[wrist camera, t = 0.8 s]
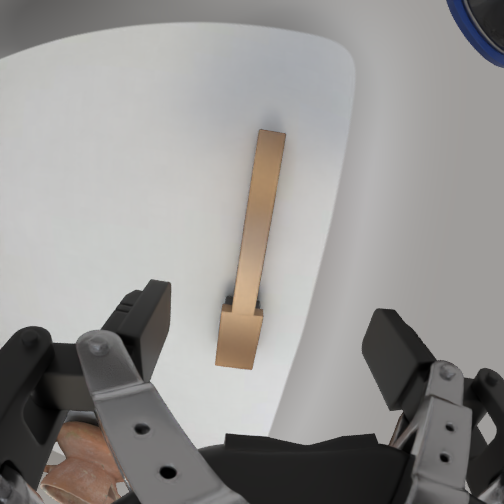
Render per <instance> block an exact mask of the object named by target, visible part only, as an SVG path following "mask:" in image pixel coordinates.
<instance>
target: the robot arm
mask: <svg viewBox="0 0 504 504" xmlns="http://www.w3.org/2000/svg"><path fill="white" fill-rule="evenodd" d="M461 1H462V4H463V7H464V9H465V12H466V14H467V16H468V18H469V19H470V21H471V23H472V24H473V26H474V27H475V29H476V30H477V32H478V33H479V34H480V36H481V37H482V38H483V39H484V40H485V41H486V42H487V44H489V45H490V46H491V47H492V48H493V49H494V50H495V51H497V52H498V53H500V54H502V55H504V0H461ZM170 313H171V283H170V282H165V281H159V280H153V279H151V280H150V281H149V283H148V284H147V286H146V287H145V288H144V290H143V291H140V290H134V291H133V292H131V293H129V294H127V295H126V296H125V297H124V298H123V300H122V301H121V302H120V304H119V305H118V306H117V308H116V310H114V312H113V313H112V314H111V316H110V317H109V318H108V320H107V321H106V323H105V324H104V325H103V327H102V328H101V330H93V331H89V332H87V333H85V334H83V335H81V336H80V337H79V338H78V340H77V342H76V344H68V343H53V342H52V338H51V335H50V333H49V332H48V331H47V330H46V329H44V328H42V327H37V326H30V327H25V328H22V329H20V330H18V331H17V332H16V333H15V334H14V335H13V336H12V337H11V338H10V339H9V340H8V341H7V343H6V344H5V345H4V346H3V347H2V348H1V350H0V504H44V502H43V500H42V498H41V497H40V495H39V494H38V493H37V492H36V491H37V488H38V485H39V482H40V479H41V477H42V474H43V471H44V469H45V466H46V463H47V461H48V458H49V456H50V453H51V451H52V449H53V446H54V444H55V441H56V439H57V437H58V434H59V432H60V430H61V427H62V425H63V423H64V421H65V419H66V416H67V414H68V412H69V410H72V411H92V412H94V414H95V417H96V419H97V422H98V425H99V427H100V430H101V432H102V435H103V437H104V439H105V442H106V444H107V446H108V449H109V451H110V453H111V455H112V457H113V460H114V462H115V464H116V466H117V468H118V471H119V473H120V475H121V477H122V479H123V481H124V482H125V484H126V486H127V488H128V490H129V493H127V494H126V495H124V496H122V497H121V498H119V499H117V500H116V501H114V502H112V503H111V504H504V380H503V378H502V377H501V376H500V375H499V374H498V373H497V372H495V371H493V370H491V369H487V368H483V369H480V371H479V372H478V374H477V376H476V377H475V378H474V379H470V378H464V377H463V374H462V372H461V370H460V369H459V368H458V367H457V366H455V365H454V364H452V363H450V362H447V361H444V360H438V361H437V360H436V358H435V357H434V356H433V354H432V353H431V352H430V351H429V349H428V348H427V347H426V345H425V344H424V343H423V342H422V340H421V339H420V338H419V337H418V335H417V334H416V332H415V331H414V330H413V329H412V328H411V327H410V326H408V325H407V324H406V323H405V322H404V321H403V320H402V318H401V317H400V316H399V314H398V313H397V312H396V311H395V310H392V309H380V308H379V309H376V310H375V311H374V313H373V316H372V318H371V321H370V324H369V326H368V329H367V331H366V334H365V337H364V339H363V342H362V354H363V356H364V358H365V360H366V362H367V364H368V366H369V368H370V370H371V372H372V374H373V377H374V379H375V380H376V383H377V385H378V387H379V389H380V391H381V393H382V395H383V398H384V400H385V402H386V404H387V406H388V408H389V410H390V411H394V410H403V413H402V414H401V416H400V417H399V420H398V422H397V425H396V428H395V431H394V433H393V436H392V438H391V441H390V443H389V445H384V444H378V441H377V439H376V436H375V434H374V433H373V434H364V435H353V436H342V437H338V438H335V439H331V440H328V441H324V442H320V443H316V444H312V445H301V444H296V443H292V442H287V441H282V440H278V439H274V438H270V437H265V436H249V435H237V434H227V433H226V435H225V441H224V444H220V445H213V446H208V447H204V448H200V449H196V447H195V446H194V445H193V443H192V442H191V441H190V439H189V438H188V436H187V435H186V434H185V432H184V431H183V429H182V428H181V426H180V425H179V424H178V422H177V421H176V419H175V418H174V416H173V415H172V413H171V412H170V410H169V409H168V407H167V405H166V404H165V402H164V401H163V399H162V398H161V396H160V394H159V393H158V391H157V390H156V388H155V386H154V385H153V384H152V383H151V382H150V379H151V376H152V374H153V371H154V368H155V366H156V363H157V360H158V358H159V355H160V353H161V350H162V348H163V345H164V342H165V340H166V337H167V335H168V331H169V326H170ZM487 412H488V414H489V415H490V417H491V418H492V420H493V422H494V423H495V425H496V428H497V433H496V436H495V438H494V439H493V440H492V442H491V443H490V444H489V445H487V443H486V441H485V439H484V437H483V436H482V434H481V432H480V430H479V429H478V427H477V424H478V423H479V422H480V421H481V419H482V418H483V417H484V415H485V414H486V413H487ZM465 480H466V481H467V483H468V486H469V488H470V491H471V493H472V494H470V493H468V491H466V490H465Z"/></svg>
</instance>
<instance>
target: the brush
mask: <svg viewBox="0 0 504 504" xmlns="http://www.w3.org/2000/svg"><path fill="white" fill-rule="evenodd" d="M285 137H286V134H285V133H280V132H274V131H268V130H262V129H260V130H259V133H258V139H257V146H256V152H255V158H254V164H253V171H252V177H251V183H250V190H249V196H248V202H247V209H246V215H245V222H244V228H243V235H242V242H241V248H240V255H239V262H238V268H237V275H236V282H235V289H234V296H233V297H229V296H227V297H226V301H225V304H223V305H222V311H221V318H220V327H219V335H218V343H217V352H216V360H215V365H217V366H224V367H232V368H240V369H249V370H252V368H253V363H254V358H255V354H256V349H257V345H258V340H259V335H260V330H261V326H262V321H263V309H260V302H259V301H258V300H257V296H258V290H259V285H260V280H261V274H262V269H263V263H264V258H265V252H266V247H267V241H268V236H269V230H270V224H271V219H272V213H273V207H274V202H275V196H276V190H277V184H278V179H279V173H280V167H281V161H282V155H283V149H284V143H285Z"/></svg>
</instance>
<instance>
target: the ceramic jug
mask: <svg viewBox="0 0 504 504" xmlns="http://www.w3.org/2000/svg"><path fill="white" fill-rule="evenodd" d="M55 442H58V444H59V446H60V448H61V450H62V451H63V453H64V455H65V457H66V460H65V461H63V462H62V463H60V464H58V465H46V466H45V469H44V471H43V472H47V473H48V474H47V475H46V477H44V479H43V480H42V482H41V484H40V487H41V489H42V490H43V491H44V492H45V493H46V494H47V495H49V496H50V497H51V498H53V499H54V500H56V501H57V502H59V503H61V504H111V503H112V502H114V501H116V500H117V499H119V498H121V496H120V495H119V494H118V492H117V488H116V483H117V482H124V481H123V479H122V477H121V475H120V473H119V471H118V468H117V466H116V464H115V462H114V460H113V457H112V455H111V453H110V451H109V449H108V446H107V444H106V442H105V439H104V437H103V435H102V432H101V430H100V427H98V426H95V425H92V424H88V423H84V422H78V421H70V422H66V423H64V424H63V425H62V427H61V430H60V432H59V434H58V437H57V439H56V441H55Z"/></svg>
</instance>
